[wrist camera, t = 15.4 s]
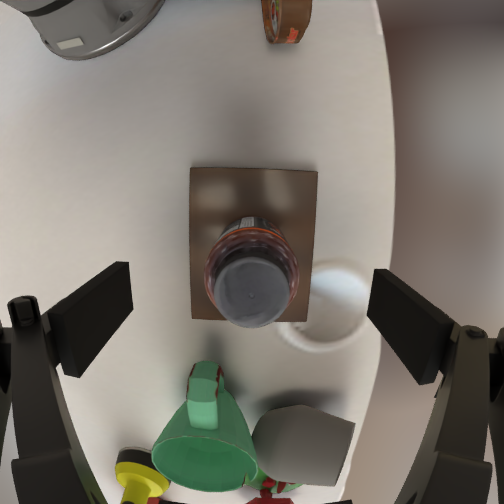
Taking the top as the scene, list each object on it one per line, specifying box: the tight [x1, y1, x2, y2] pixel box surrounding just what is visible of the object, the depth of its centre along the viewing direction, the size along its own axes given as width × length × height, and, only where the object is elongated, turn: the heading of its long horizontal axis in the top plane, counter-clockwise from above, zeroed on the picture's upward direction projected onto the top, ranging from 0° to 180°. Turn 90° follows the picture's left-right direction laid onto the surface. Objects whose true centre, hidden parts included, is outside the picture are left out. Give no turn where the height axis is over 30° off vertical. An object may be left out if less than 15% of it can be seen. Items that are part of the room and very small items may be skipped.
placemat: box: [189, 168, 318, 322], centre depth 27 cm, size 14×11×1 cm
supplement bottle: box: [204, 216, 300, 328], centre depth 21 cm, size 6×6×11 cm
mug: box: [151, 361, 258, 492], centre depth 26 cm, size 15×10×10 cm
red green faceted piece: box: [244, 467, 303, 504], centre depth 30 cm, size 15×20×9 cm
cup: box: [251, 405, 355, 486], centre depth 27 cm, size 10×9×10 cm
